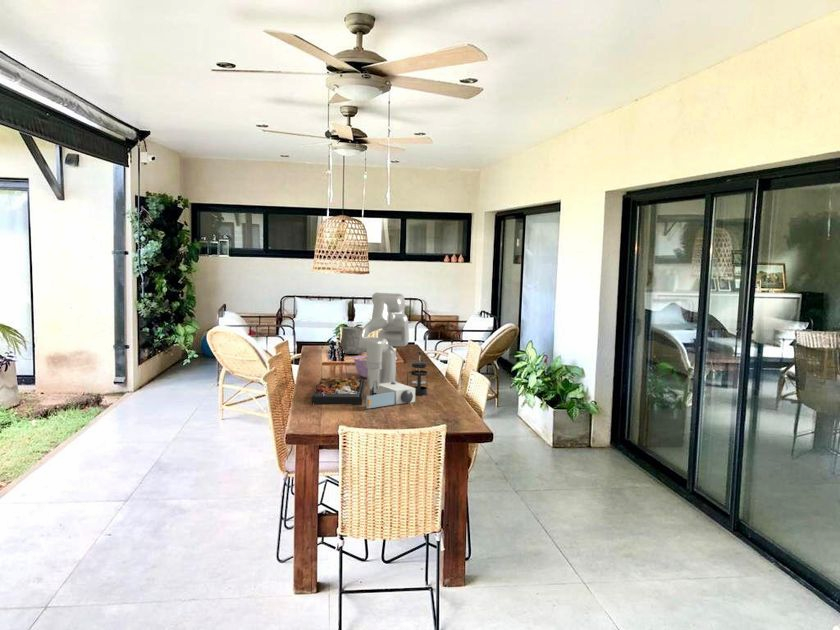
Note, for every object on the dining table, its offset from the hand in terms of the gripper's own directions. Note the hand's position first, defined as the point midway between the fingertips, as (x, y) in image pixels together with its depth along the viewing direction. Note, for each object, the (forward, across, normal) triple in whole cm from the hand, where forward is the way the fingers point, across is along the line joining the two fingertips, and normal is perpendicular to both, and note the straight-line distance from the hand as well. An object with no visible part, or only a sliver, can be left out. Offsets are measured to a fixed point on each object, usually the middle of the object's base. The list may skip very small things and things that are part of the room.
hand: (373, 402), depth 307 cm
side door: (+1, +2, +4) cm, 5 cm away
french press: (+2, -26, +27) cm, 38 cm away
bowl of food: (+3, -73, +7) cm, 74 cm away
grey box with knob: (+2, -14, +13) cm, 19 cm away
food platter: (+3, -28, -14) cm, 32 cm away
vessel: (+3, -159, +4) cm, 159 cm away
